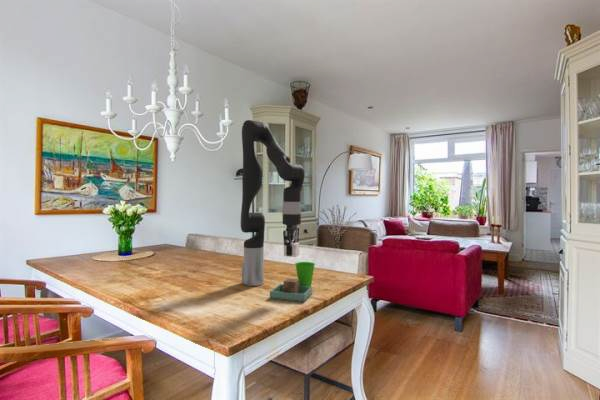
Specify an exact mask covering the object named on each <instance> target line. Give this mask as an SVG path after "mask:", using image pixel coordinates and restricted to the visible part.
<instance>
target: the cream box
mask: <svg viewBox="0 0 600 400" xmlns="http://www.w3.org/2000/svg"><path fill="white" fill-rule="evenodd" d="M299 256H300V242H297V243H292V256H287V255H286V245H284V244H283V257H289V258H297V257H299Z"/></svg>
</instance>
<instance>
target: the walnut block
mask: <svg viewBox="0 0 600 400" xmlns="http://www.w3.org/2000/svg"><path fill="white" fill-rule="evenodd" d="M283 284H284V292H287V293H297V294H299V279H298V278H286V279H285V280H283Z"/></svg>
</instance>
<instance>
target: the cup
mask: <svg viewBox="0 0 600 400" xmlns="http://www.w3.org/2000/svg"><path fill="white" fill-rule="evenodd" d="M294 265H295V268H296V269H295V271H296V276H297V279H299V286H307V287H312V281H313V276H314V270H315V266H316V264H315V263H314V262H311V261H297V262H295V263H294Z"/></svg>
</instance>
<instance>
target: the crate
mask: <svg viewBox="0 0 600 400" xmlns="http://www.w3.org/2000/svg"><path fill="white" fill-rule="evenodd" d="M312 295H313V287H312V286H311V287H307V286H299V294H297V293H287V292H284V283H283V284H282V283H280V284H278V285H277V286H275V287H273V289H271V290H269V299H270V300H276V301H278V300H279V301H287V302H297V303H305V302H307V300H309V298H310V297H311V296H312Z"/></svg>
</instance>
